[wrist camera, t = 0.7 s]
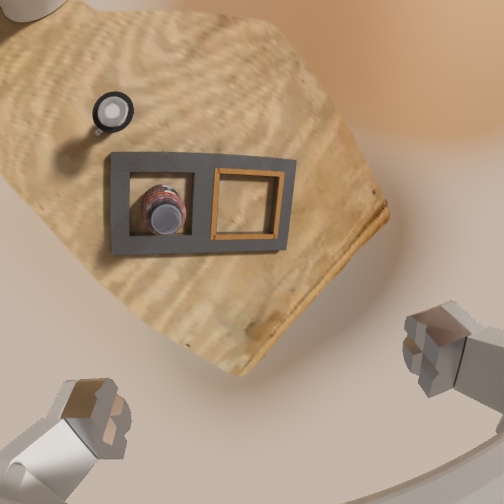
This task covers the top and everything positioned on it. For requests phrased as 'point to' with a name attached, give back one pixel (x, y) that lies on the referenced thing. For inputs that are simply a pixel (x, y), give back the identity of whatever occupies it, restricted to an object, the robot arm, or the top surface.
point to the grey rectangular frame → (199, 202)
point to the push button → (112, 112)
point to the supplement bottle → (163, 210)
